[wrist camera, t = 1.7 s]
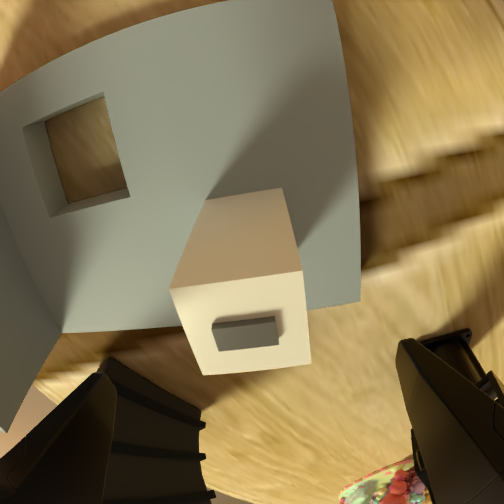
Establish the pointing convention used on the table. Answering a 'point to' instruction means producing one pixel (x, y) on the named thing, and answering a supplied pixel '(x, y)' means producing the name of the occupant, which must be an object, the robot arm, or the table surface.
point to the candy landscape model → (388, 487)
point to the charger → (243, 286)
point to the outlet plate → (172, 169)
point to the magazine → (152, 445)
